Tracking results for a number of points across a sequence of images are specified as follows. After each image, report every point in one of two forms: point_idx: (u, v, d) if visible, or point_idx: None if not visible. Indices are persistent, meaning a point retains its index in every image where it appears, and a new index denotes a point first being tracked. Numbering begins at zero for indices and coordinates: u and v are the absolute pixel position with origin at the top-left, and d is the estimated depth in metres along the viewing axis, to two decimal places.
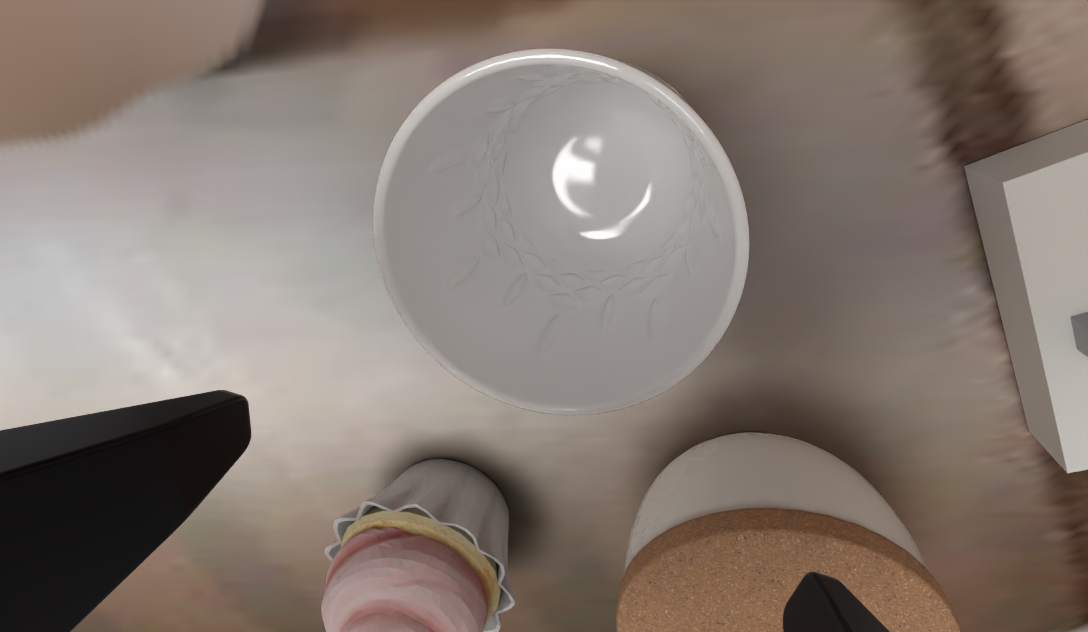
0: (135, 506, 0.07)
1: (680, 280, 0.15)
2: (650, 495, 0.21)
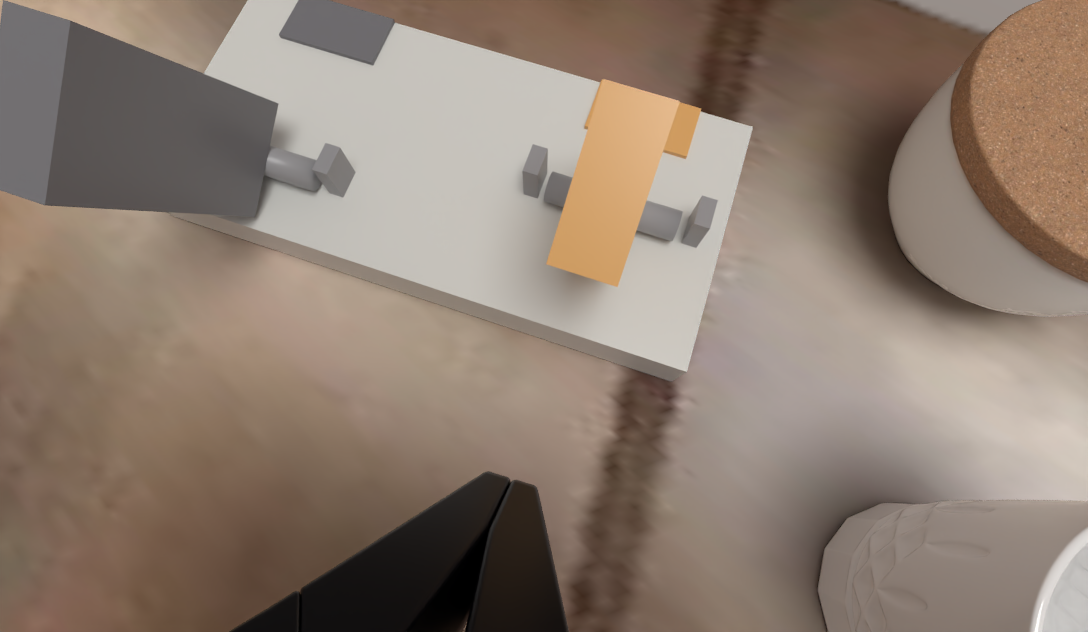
0: (456, 614, 0.07)
1: None
2: None
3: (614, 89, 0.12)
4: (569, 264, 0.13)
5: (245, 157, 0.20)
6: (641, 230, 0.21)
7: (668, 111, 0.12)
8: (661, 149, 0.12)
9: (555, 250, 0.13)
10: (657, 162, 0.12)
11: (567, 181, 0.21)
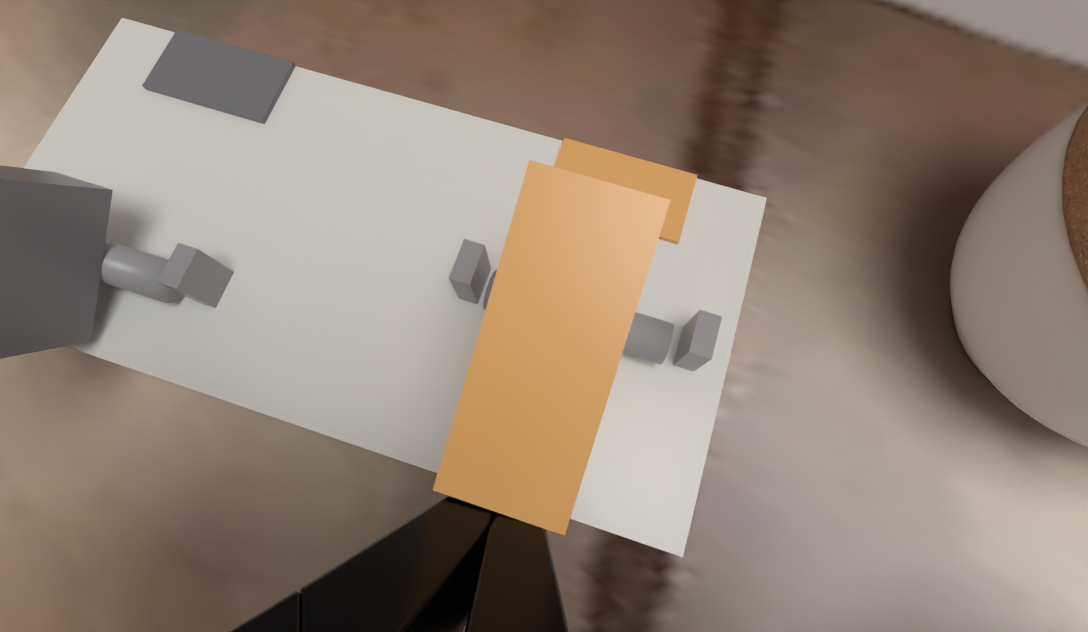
0: (456, 614, 0.07)
1: None
2: None
3: (550, 178, 0.07)
4: (475, 491, 0.07)
5: (58, 270, 0.14)
6: None
7: (650, 218, 0.07)
8: (639, 286, 0.07)
9: (449, 465, 0.07)
10: (632, 309, 0.07)
11: None
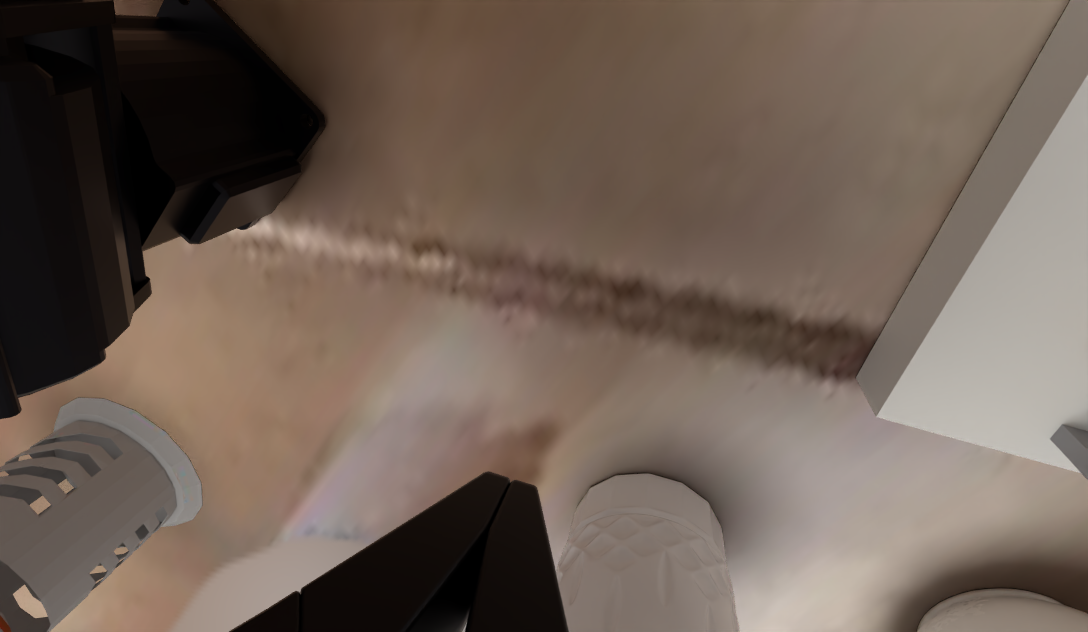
0: (456, 614, 0.07)
1: None
2: None
3: None
4: None
5: None
6: None
7: None
8: None
9: None
10: None
11: None
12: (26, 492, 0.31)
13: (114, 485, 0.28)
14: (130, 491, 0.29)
